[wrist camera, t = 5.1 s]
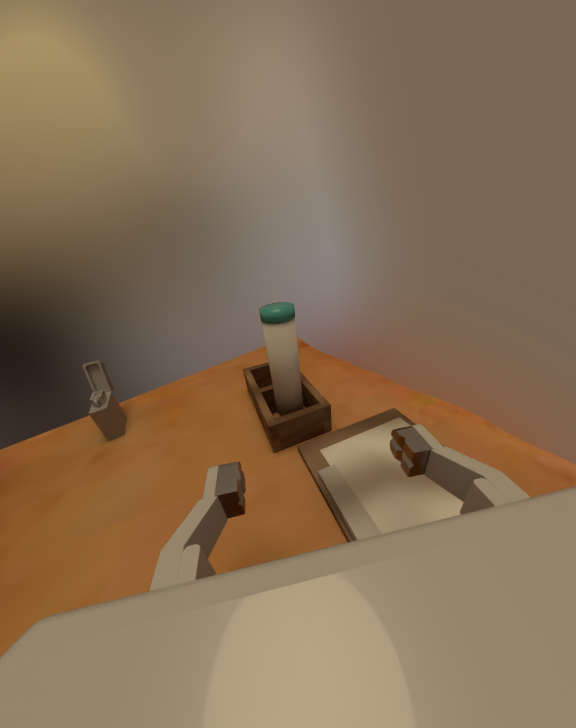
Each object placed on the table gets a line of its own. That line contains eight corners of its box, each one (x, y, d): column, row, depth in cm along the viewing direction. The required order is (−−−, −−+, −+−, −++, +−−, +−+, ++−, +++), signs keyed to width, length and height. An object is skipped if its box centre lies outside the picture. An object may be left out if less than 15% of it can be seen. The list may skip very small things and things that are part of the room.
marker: (309, 425, 26) (299, 307, 19) (284, 435, 25) (264, 314, 18) (298, 409, 28) (286, 300, 22) (275, 417, 27) (255, 306, 21)
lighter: (124, 435, 28) (89, 380, 24) (107, 441, 27) (68, 386, 23) (127, 405, 33) (100, 356, 29) (114, 409, 33) (83, 360, 29)
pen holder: (331, 430, 25) (330, 405, 23) (274, 452, 23) (268, 427, 21) (289, 377, 35) (287, 357, 33) (247, 389, 33) (242, 369, 32)
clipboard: (559, 542, 14) (571, 529, 14) (411, 658, 11) (416, 650, 10) (393, 411, 26) (395, 400, 25) (298, 450, 23) (296, 438, 22)
